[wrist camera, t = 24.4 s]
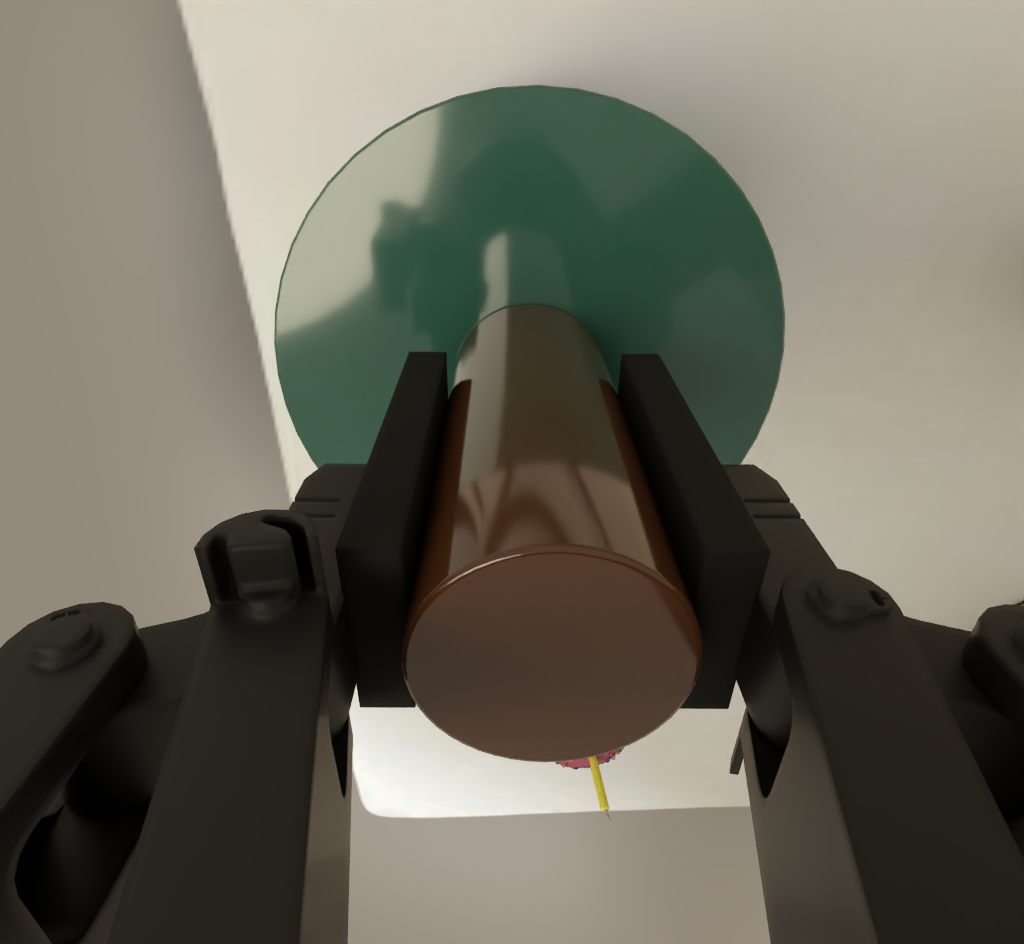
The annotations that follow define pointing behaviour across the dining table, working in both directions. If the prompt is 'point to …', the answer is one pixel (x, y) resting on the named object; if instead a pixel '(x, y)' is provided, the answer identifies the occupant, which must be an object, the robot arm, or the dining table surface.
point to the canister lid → (535, 391)
